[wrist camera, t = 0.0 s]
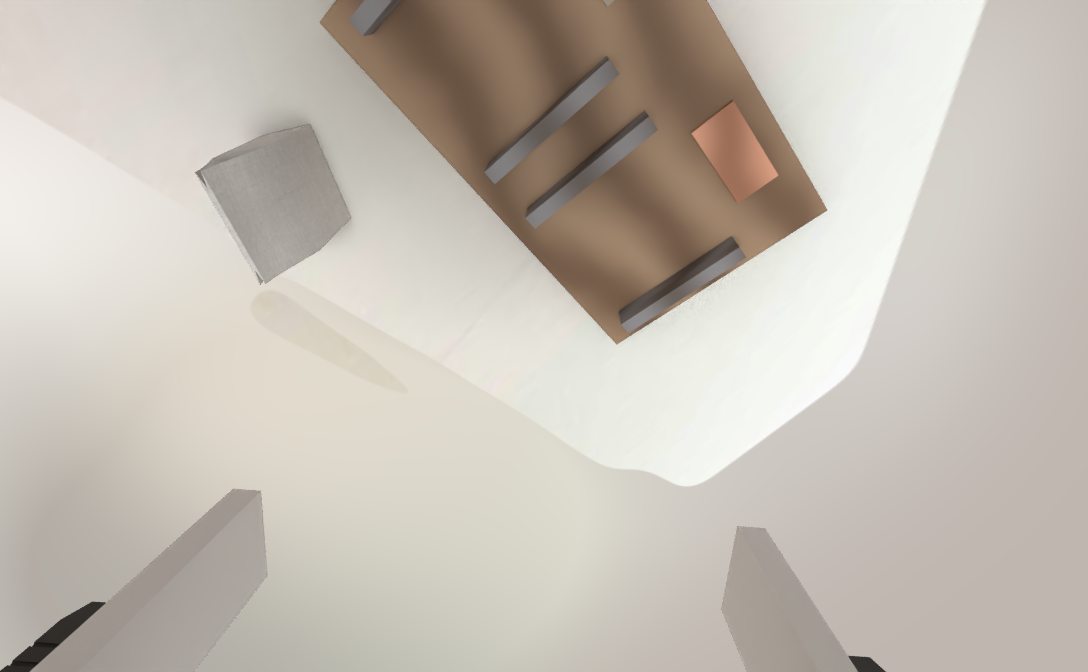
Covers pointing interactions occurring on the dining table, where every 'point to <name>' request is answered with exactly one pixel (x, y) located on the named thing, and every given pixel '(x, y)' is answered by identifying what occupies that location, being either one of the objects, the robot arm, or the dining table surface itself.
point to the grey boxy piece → (276, 199)
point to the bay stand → (594, 136)
